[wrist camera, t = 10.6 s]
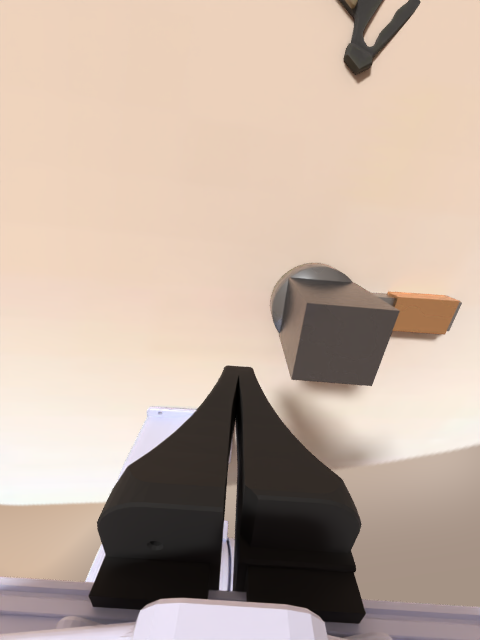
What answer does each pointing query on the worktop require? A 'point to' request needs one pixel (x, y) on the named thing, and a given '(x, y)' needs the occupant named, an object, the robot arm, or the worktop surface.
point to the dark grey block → (334, 331)
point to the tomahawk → (362, 6)
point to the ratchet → (414, 308)
